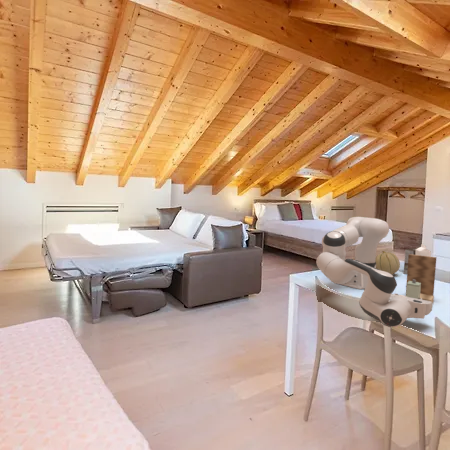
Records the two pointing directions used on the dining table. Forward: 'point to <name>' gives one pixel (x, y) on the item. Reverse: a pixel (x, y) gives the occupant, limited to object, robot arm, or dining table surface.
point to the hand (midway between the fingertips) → (408, 297)
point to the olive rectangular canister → (413, 289)
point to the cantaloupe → (387, 262)
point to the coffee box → (407, 252)
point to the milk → (423, 251)
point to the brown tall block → (422, 274)
